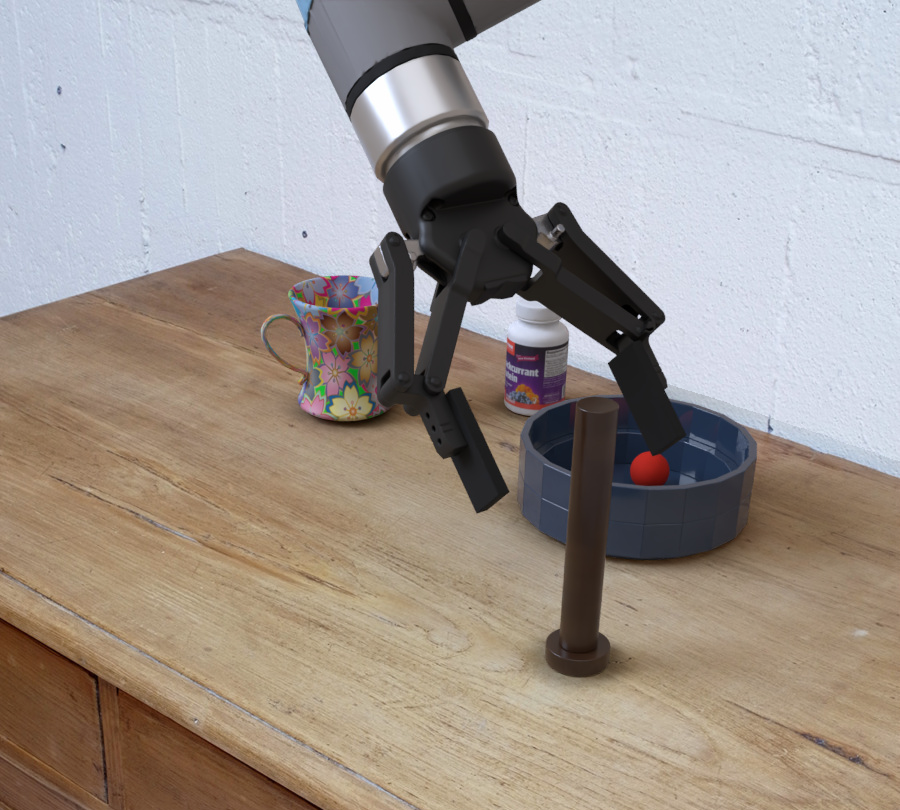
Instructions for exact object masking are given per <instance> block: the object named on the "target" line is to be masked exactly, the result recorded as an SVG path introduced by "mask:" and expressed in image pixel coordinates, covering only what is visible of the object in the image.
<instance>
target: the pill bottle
mask: <svg viewBox="0 0 900 810" xmlns="http://www.w3.org/2000/svg"><path fill="white" fill-rule="evenodd" d="M515 301H516V302H515V317H516V318H517V319H516V320H514V321H512V322H511V323H510V324H509V326H508V328H507V333H506V353H505V373H504V375H505V376H504V390H503V391H504V392H503V394H504V395H503V397H504V399H503V403H504V405H505V407H506V408H507V409H508V410H509V411H510V412H513V413H515V414H518V415H521V416H526V417H531V416H532V415H534V414H535V413H536V412H538V411H539V410H541V409H542V408H544V407H547V406H550V405H553V404H556V403H559V402H561V401H564V400H566V399H565V398H566V388H567V387H566V386H567V374H568V359H569V345H570V332H569V329H568V327H567V325H566V324H564V323H563V322H562V321H560V320H562V318H561V317H560V316H558V315H557V314H555V313H554V312H552V311H551V310H549V309H548V308H546V307H545V306H544V305H542V304H541V303H539V302H537V301H527V300H525V299H523V298H522V297H520V296H518V297H517V298H516V300H515Z"/></svg>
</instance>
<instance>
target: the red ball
mask: <svg viewBox="0 0 900 810" xmlns="http://www.w3.org/2000/svg"><path fill="white" fill-rule="evenodd" d="M630 475H631V478H632V480H633V482H634V483H635V485H641V486H663V485H664V484H665V483H666V481H667V479H668V477H669V465H668V462H667V460H666V459H665V458H664V457H663V456H662V455H661V454H659V455H656V456H653V457H652V455H651V453H650V451H648V452H644V453H641V454H639V455H638V456H637V457H636V458H635V459H634V460H633V462H632V464H631V467H630Z"/></svg>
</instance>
